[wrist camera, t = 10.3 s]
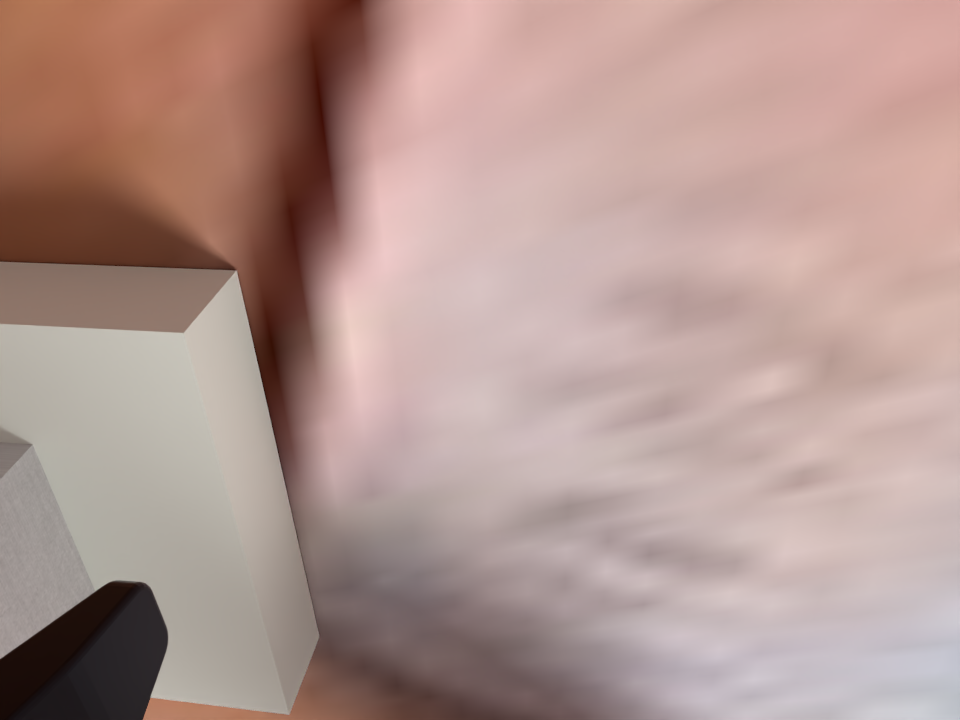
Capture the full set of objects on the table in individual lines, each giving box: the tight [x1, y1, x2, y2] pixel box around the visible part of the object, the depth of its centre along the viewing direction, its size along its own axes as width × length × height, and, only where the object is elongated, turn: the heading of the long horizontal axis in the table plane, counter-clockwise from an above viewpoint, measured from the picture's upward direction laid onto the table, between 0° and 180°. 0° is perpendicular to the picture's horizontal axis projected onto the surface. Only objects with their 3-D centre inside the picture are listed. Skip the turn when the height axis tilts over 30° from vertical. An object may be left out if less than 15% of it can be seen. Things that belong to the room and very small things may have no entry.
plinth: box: [0, 262, 320, 715], centre depth 26 cm, size 14×14×3 cm
